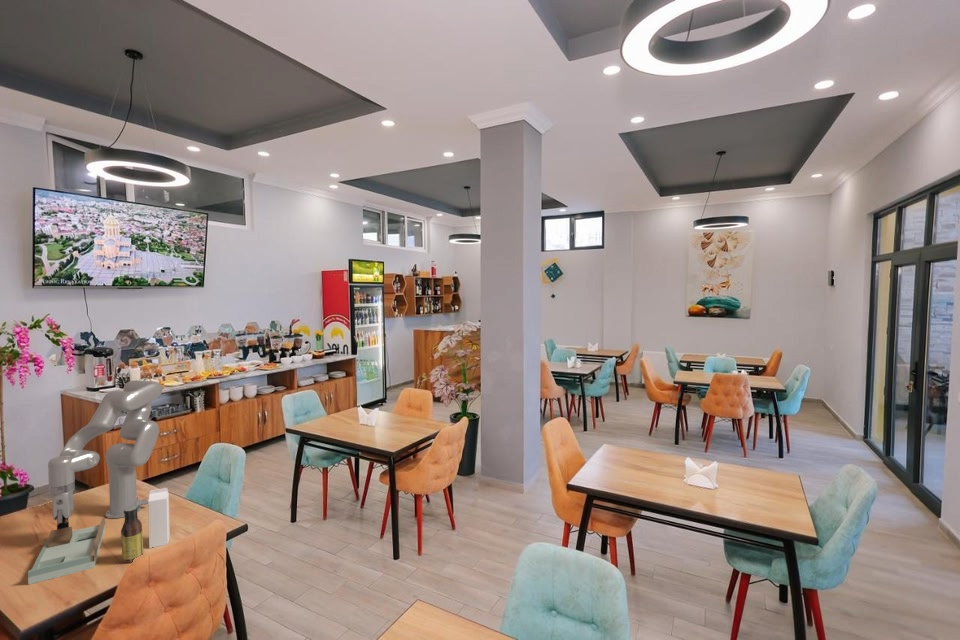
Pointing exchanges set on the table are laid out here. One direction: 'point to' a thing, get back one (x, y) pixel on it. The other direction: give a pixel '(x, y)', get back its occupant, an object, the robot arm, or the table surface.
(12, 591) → the table surface
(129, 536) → the sauce bottle
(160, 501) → the milk
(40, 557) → the board
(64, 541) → the walnut block
